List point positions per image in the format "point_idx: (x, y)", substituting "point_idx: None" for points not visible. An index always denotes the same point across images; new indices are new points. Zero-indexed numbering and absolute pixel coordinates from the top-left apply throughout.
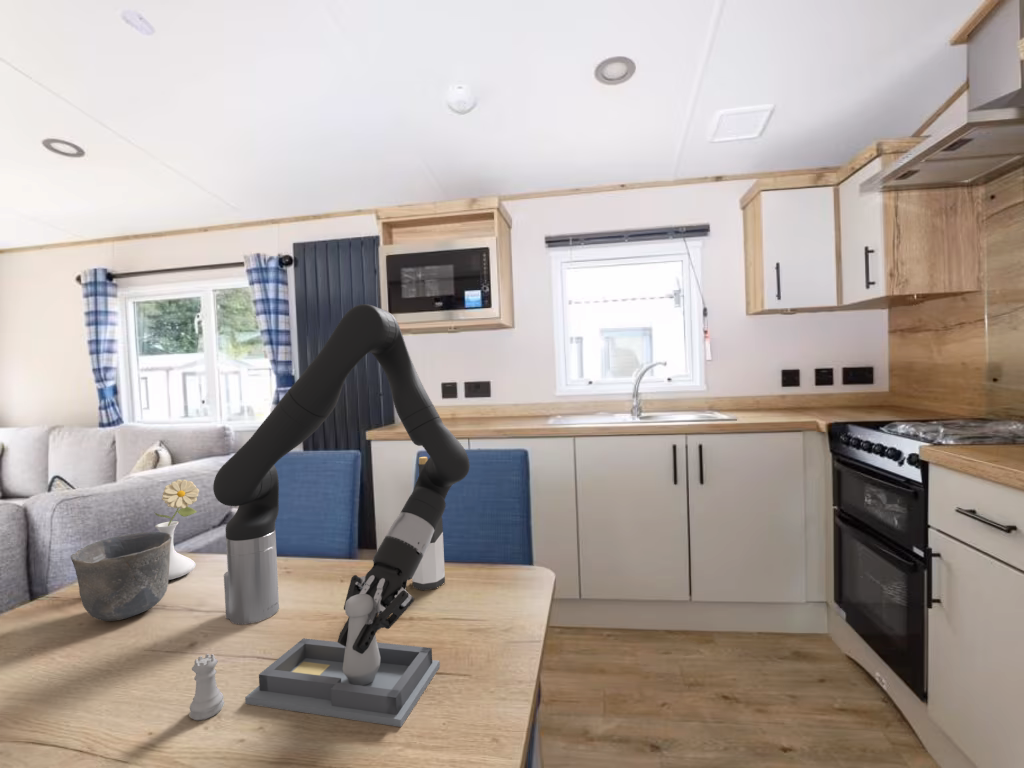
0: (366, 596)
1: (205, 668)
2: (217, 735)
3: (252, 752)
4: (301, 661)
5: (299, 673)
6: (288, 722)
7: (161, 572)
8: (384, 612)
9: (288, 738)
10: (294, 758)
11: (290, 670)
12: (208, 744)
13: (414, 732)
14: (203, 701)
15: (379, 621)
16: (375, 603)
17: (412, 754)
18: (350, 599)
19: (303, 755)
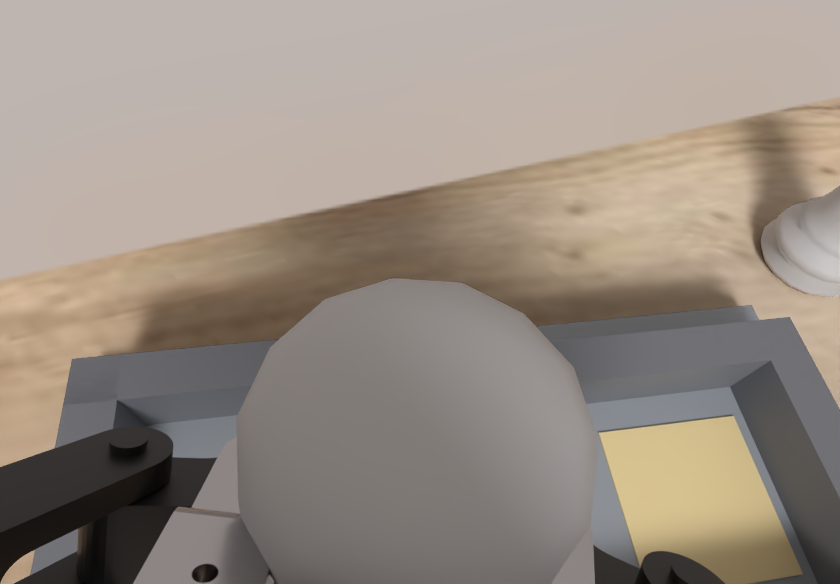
0: (331, 485)
1: None
2: (659, 205)
3: (505, 189)
4: (815, 574)
5: (636, 371)
6: (514, 292)
7: None
8: (58, 487)
9: (453, 245)
10: (375, 200)
11: (776, 484)
12: (644, 180)
13: (29, 374)
14: (808, 202)
15: (129, 432)
16: (200, 527)
17: (10, 294)
18: (503, 342)
19: (358, 213)
